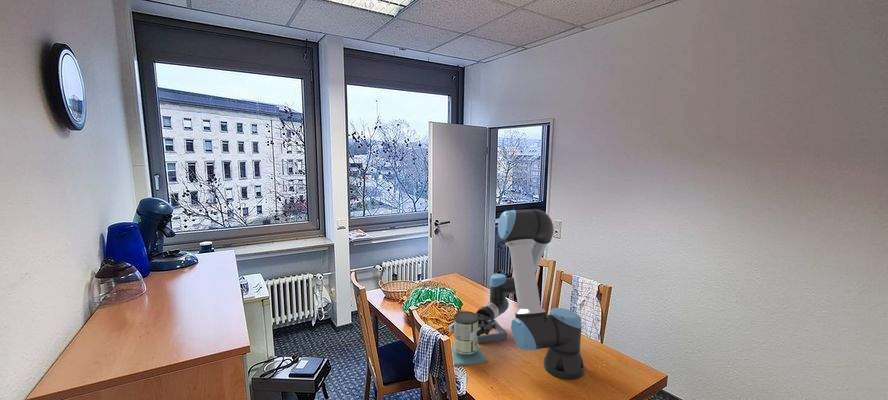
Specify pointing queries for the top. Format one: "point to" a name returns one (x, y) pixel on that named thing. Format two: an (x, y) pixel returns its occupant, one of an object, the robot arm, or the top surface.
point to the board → (468, 357)
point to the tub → (493, 337)
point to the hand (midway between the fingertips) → (460, 332)
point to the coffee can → (465, 332)
